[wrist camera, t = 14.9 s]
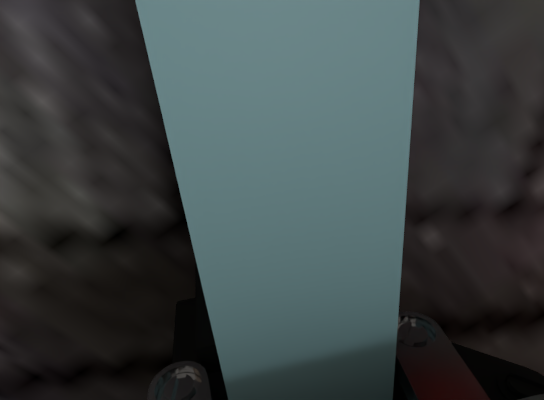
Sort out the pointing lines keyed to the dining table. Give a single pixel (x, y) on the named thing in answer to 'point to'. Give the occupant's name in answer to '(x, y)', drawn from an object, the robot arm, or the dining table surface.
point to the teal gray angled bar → (292, 182)
